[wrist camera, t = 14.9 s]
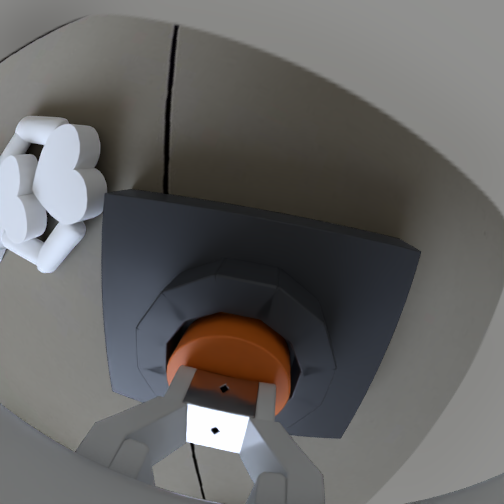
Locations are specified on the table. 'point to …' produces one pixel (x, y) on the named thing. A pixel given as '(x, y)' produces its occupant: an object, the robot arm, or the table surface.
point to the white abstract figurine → (49, 189)
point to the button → (235, 352)
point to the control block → (251, 295)
